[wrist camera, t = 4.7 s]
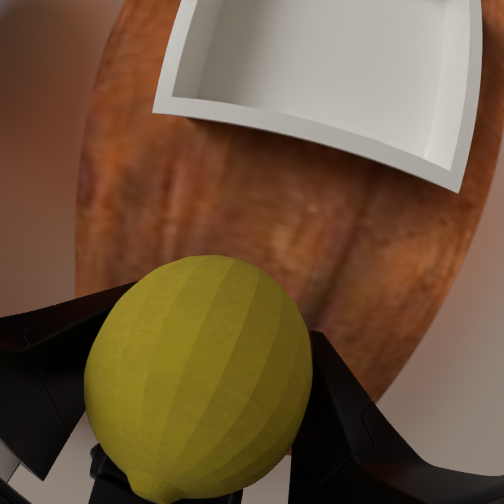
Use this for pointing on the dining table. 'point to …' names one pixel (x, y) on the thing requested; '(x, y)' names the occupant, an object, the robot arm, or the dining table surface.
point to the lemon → (199, 379)
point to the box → (335, 75)
